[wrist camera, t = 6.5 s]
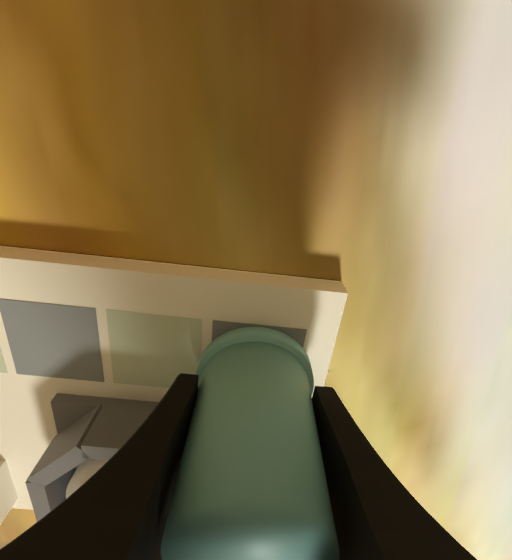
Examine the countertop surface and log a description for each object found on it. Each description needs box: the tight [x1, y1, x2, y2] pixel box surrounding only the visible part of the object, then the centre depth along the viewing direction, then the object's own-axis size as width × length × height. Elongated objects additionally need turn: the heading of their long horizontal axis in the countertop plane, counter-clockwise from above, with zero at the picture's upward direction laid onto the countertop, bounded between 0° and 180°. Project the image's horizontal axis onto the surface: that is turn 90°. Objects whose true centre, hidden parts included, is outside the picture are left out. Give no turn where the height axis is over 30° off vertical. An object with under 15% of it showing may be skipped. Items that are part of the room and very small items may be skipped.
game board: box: [0, 246, 348, 525], centre depth 14 cm, size 15×22×4 cm
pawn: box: [160, 327, 340, 560], centre depth 10 cm, size 4×4×6 cm
